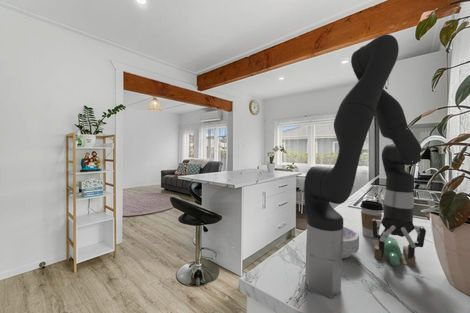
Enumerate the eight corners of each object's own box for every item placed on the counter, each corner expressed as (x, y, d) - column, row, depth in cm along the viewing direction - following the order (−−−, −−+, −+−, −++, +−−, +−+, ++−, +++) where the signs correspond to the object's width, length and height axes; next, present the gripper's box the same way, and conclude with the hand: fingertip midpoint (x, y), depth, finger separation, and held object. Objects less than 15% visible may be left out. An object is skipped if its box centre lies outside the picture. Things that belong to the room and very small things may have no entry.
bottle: (399, 250, 78) (406, 271, 65) (382, 249, 80) (386, 268, 67) (396, 237, 78) (403, 254, 65) (380, 236, 80) (384, 253, 67)
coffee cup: (357, 235, 93) (358, 201, 92) (361, 229, 99) (363, 198, 98) (380, 241, 87) (381, 205, 86) (383, 235, 93) (385, 201, 92)
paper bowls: (304, 246, 82) (304, 226, 81) (334, 240, 87) (334, 221, 87) (335, 267, 68) (336, 243, 67) (368, 259, 73) (369, 236, 73)
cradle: (414, 266, 68) (415, 257, 68) (374, 257, 74) (374, 248, 74) (409, 256, 75) (410, 247, 75) (373, 248, 81) (373, 239, 81)
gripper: (372, 203, 68) (370, 253, 69) (431, 211, 61) (428, 266, 62) (371, 198, 75) (369, 244, 76) (424, 204, 67) (421, 255, 68)
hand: (395, 254), depth 69 cm, fingers open, 6 cm apart
